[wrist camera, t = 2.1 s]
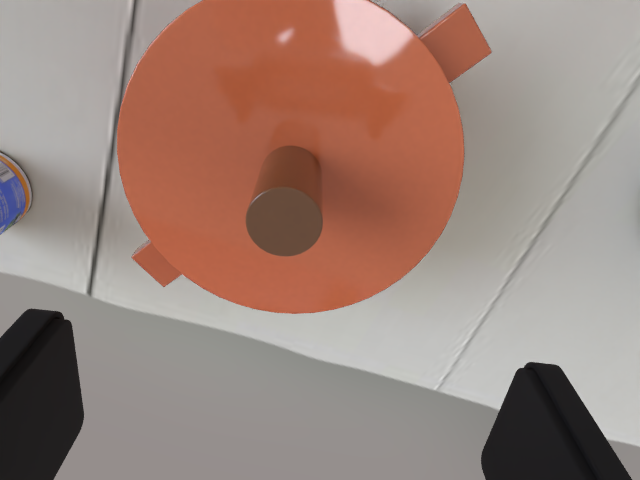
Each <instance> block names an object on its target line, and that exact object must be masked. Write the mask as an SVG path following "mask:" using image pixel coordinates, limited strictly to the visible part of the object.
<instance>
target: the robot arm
mask: <svg viewBox="0 0 640 480" xmlns="http://www.w3.org/2000/svg"><path fill="white" fill-rule="evenodd" d="M83 419H84V411H83V403H82V396H81V388H80V381H79V374H78V366H77V359H76V352H75V344H74V337H73V330H72V324H71V322H70V321H69V320H64V316H63V315H62V313H61V312H58V311H48V310H39V309H28V310H27V311H25V312H24V313H23V314H22V315H21V316H20V317H19V318H18V319H17V320H16V322H15V323H14V324H13V325H12V326H11V327H10V328H9V329H8V330H7V331H6V332H5V333H4V334H3V336H1V338H0V480H53V479H54V477H55V476H56V474H57V472H58V470H59V468H60V466H61V465H62V463H63V461H64V459H65V458H66V456H67V454H68V452H69V450H70V449H71V447H72V445H73V443H74V441H75V439H76V438H77V436H78V434H79V432H80V430H81V427H82V424H83ZM481 464H482V470H483V473H484V475H485V479H486V480H632V479H631V477H630V476H629V474H628V472H627V471H626V469H625V468H624V466H623V465H622V463H621V461H620V460H619V458H618V457H617V455H616V454H615V452H614V451H613V449H612V448H611V446H610V444H609V443H608V441H607V440H606V438H605V436H604V435H603V433H602V432H601V430H600V429H599V427H598V425H597V424H596V422H595V421H594V419H593V418H592V416H591V414H590V413H589V411H588V410H587V408H586V407H585V405H584V403H583V402H582V400H581V399H580V397H579V396H578V394H577V392H576V391H575V389H574V388H573V386H572V385H571V383H570V381H569V380H568V378H567V377H566V375H565V374H564V372H563V370H562V369H561V368H560V367H559V366H557V365H553V364H544V363H534V362H529V363H527V364H526V365H525V367H524V368H519V369H518V370H517V372H516V373H515V376H514V378H513V380H512V383H511V385H510V387H509V390H508V392H507V395H506V397H505V399H504V402H503V404H502V406H501V409H500V411H499V413H498V416H497V418H496V421H495V423H494V425H493V428H492V430H491V432H490V435H489V437H488V439H487V442H486V444H485V446H484V449H483V451H482V457H481Z"/></svg>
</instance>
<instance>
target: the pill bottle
mask: <svg viewBox="0 0 640 480" xmlns="http://www.w3.org/2000/svg"><path fill="white" fill-rule="evenodd" d="M31 201H32V192H31V187H30V184H29V181H28V179H27V177H26V175H25V173H24V172H23V171H22V169H21V168H20V167H19V166H18V165H17V164H16V163H15V162H14V161H13V160H12V159H10V158H9V157H7V156H6V155H4V154H2V153H0V234H2V233H3V232H4V231H6V230H7V229H8V228H10V227H11V226H12V225H14V224H15V223H16V222H18V221H19V220H20V219H21V218H22V217H23V216H24V215H25V214H26V213H27V211H28V210H29V208H30V205H31Z"/></svg>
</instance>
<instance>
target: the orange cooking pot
mask: <svg viewBox="0 0 640 480" xmlns="http://www.w3.org/2000/svg"><path fill="white" fill-rule="evenodd" d="M417 36H418V37H419V38H420V39H421V41H422V42H423V43H424V44H425V45H426V46H427V47H428V49H429V50H430V52H431V53H432V54H433V56H434V57H435V59H436V60H437V62H438V63H439V64H440V66H441V68H442V70H443V72H444V74H445V76H446V78H447V80H448V82H449V83H450V82H452V81H453V80H454V79H456V78H457V77H459V76H460V75H461V74H463V73H464V72H466V71H467V70H468V69H470V68H471V67H473V66H474V65H475V64H477V63H478V62H480V61H481V60H482V59H484V58H485V57H487V56H488V55H489V54H491V49H490V47H489V45H488V44H487V42H486V40H485V38H484V36H483V34H482V33H481V31H480V29H479V27H478V25H477V23H476V22H475V20H474V18H473V16H472V14H471V12H470V11H469V9H468V7H467V5H466V4H465V3H458V4H457V5H455V6H454V7H453V8H451V9H450V10H449V11H447V12H446V13H445V14H443V15H442V16H441V17H440V18H438V19H437V20H436V21H434V22H433V23H432V24H430V25H429V26H428V27H426V28H425V29H424V30H423V31H421V32H420V33H419V34H417ZM131 258H132V259H133V260H135V261H136V262H137V263H138V264H139V265H140V266H141V267H142V268H143V269H144V270H145V271H147V272H148V273H149V274H150V275H151V276H152V277H153V278H154V279H155V280H156V281H157V282H159V283H160V284H161V285H162V286H163V287H165V286H166V285H168V284H169V283H171V282H172V281H173V280H175V279H176V278H178V277H179V276H180V275H182V273H180V272H179V271H178V270H177V269H176V268H175V267H173V266H172V265H171V264H170V263H169V262H168V261H167V260H166V259H165V258H164V257H163V256H162V254H161V253H160V252H159V251H158V250H157V249H156V248H155V247H154V245H153V244H152V242H151V241H150V240H148V241H146V242H145V243H144V244H142V245H141V246H140V247H138V248H137V250H136V251H135V252H134V254H133V255H132V257H131Z"/></svg>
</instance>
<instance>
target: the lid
mask: <svg viewBox="0 0 640 480" xmlns="http://www.w3.org/2000/svg"><path fill="white" fill-rule="evenodd" d="M117 155H118V162H119V170H120V176H121V179H122V183H123V187H124V190H125V194H126V197H127V199H128V202H129V204H130V206H131V209H132V211H133V214H134V216H135V217H136V219H137V221H138V223H139V224H140V226H141V228H142V230H143V231H144V233H145V234H146V236H147V237H148V238H149V240H150V241H151V242H152V244H153V245H154V247H155V248H156V249H157V250H158V251H159V252H160V253H161V254H162V256H163V257H164V258H165V259H166V260H167V261H168V262H169V263H170V264H171V265H172V266H173V267H175V268H176V269H177V270H178V271H179V272H180V273H182V274H183V275H184V276H185V277H187V278H188V279H190V280H191V281H193V282H194V283H196V284H197V285H198V286H200V287H201V288H203V289H205V290H207V291H209V292H211V293H213V294H215V295H217V296H218V297H221V298H223V299H226V300H228V301H231V302H233V303H236V304H239V305H242V306H246V307H250V308H253V309H257V310H263V311H269V312H275V313H292V314H298V313H315V312H322V311H328V310H334V309H337V308H341V307H345V306H349V305H352V304H354V303H357V302H359V301H362V300H365V299H367V298H369V297H371V296H373V295H375V294H377V293H379V292H381V291H383V290H385V289H386V288H388V287H389V286H391V285H392V284H394V283H395V282H397V281H398V280H400V279H401V278H402V277H403V276H405V275H406V274H407V273H408V272H409V271H410V270H411V269H413V268H414V267H415V266H416V265H417V264H418V263H419V262H420V261H421V260H422V258H423V257H424V256H425V255H426V254H427V253H428V252H429V251H430V249H431V248H432V246H433V245H434V244H435V242H436V241H437V239H438V238H439V236H440V235H441V233H442V231H443V230H444V228H445V226H446V224H447V222H448V220H449V218H450V216H451V214H452V211H453V208H454V206H455V203H456V200H457V197H458V194H459V189H460V185H461V180H462V176H463V165H464V135H463V128H462V122H461V117H460V112H459V108H458V105H457V102H456V99H455V96H454V93H453V90H452V87H451V85H450V84H449V82H448V80H447V78H446V76H445V74H444V72H443V70H442V68H441V66H440V64H439V63H438V62H437V60H436V59H435V57H434V56H433V54H432V53H431V52H430V50H429V49H428V47H427V46H426V45H425V44H424V43H423V42H422V41H421V39H420V38H419V37H418V36H417V35H416V34H415V33H414V32H413V31H412V30H411V29H410V28H409V27H408V26H407V25H406V24H404V23H403V22H402V21H400V20H399V19H398V18H397V17H395V16H394V15H393V14H392V13H390V12H389V11H388V10H386V9H384V8H382V7H381V6H379V5H377V4H376V3H374V2H372V1H370V0H202V1H201V2H199V3H197V4H196V5H194V6H192V7H190V8H189V9H187V10H186V11H184V12H183V13H182V14H181V15H179V16H178V17H177V18H176V19H174V20H173V21H172V22H171V23H169V24H168V25H167V26H166V27H165V28H164V29H163V31H162V32H161V33H160V34H159V35H158V36H157V37H156V38H155V39H154V40H153V41H152V43H151V44H150V45H149V47H148V48H147V50H146V51H145V53H144V54H143V56H142V57H141V59H140V60H139V62H138V63H137V65H136V67H135V69H134V72H133V74H132V76H131V78H130V80H129V82H128V84H127V87H126V91H125V94H124V97H123V101H122V104H121V108H120V114H119V121H118V128H117Z"/></svg>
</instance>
